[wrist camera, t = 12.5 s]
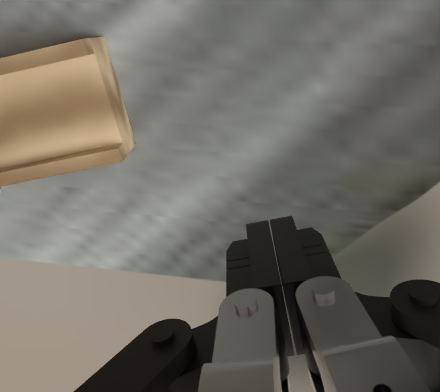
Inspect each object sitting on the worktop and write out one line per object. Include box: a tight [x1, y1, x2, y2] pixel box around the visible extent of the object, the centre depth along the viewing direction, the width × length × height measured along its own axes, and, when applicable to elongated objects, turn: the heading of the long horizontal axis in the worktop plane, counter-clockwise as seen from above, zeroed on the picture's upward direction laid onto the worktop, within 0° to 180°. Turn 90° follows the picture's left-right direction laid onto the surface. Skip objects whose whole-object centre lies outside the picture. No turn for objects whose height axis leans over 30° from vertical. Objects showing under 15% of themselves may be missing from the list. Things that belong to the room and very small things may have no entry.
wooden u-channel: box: [0, 36, 136, 186], centre depth 36 cm, size 10×15×6 cm, turn 102°
